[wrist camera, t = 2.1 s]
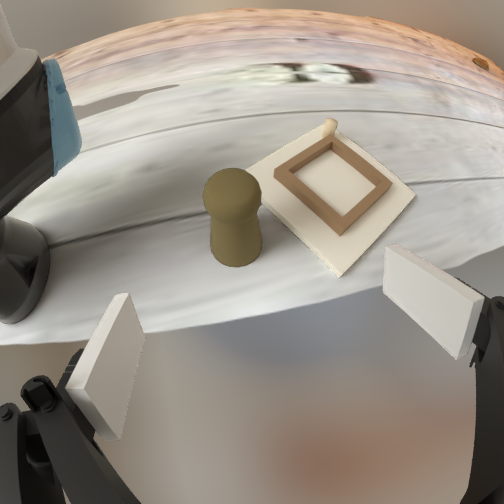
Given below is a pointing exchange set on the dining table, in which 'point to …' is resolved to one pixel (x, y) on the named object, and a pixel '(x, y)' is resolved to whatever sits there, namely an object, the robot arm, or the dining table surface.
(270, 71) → the dining table surface
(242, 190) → the cork
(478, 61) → the pastry
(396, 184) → the seat board
